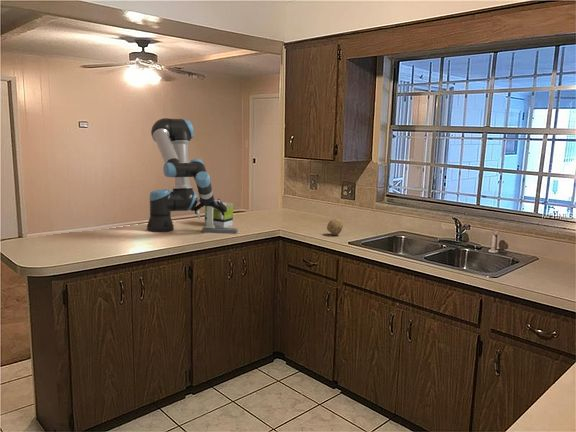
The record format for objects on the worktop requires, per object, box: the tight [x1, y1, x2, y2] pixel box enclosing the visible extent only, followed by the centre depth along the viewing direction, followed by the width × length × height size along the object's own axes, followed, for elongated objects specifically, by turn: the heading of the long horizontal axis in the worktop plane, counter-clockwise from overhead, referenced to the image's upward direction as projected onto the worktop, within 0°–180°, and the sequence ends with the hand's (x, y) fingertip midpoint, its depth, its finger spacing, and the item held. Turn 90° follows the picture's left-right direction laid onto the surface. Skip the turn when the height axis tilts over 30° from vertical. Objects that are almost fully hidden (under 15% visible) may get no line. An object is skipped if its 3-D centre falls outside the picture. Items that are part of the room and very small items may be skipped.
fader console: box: [201, 226, 239, 235], centre depth 274 cm, size 20×6×2 cm, turn 89°
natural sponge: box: [326, 218, 344, 236], centre depth 276 cm, size 9×9×10 cm
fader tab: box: [204, 206, 216, 228], centre depth 273 cm, size 5×4×13 cm
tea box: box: [204, 201, 234, 228], centre depth 293 cm, size 15×10×15 cm, turn 62°
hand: (210, 217), depth 273 cm, fingers open, 13 cm apart
